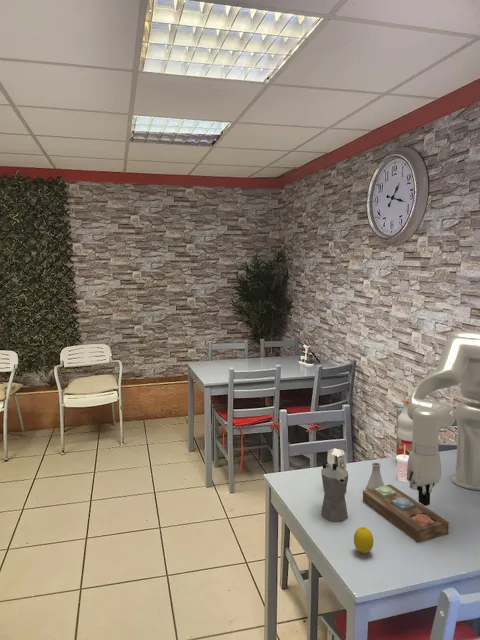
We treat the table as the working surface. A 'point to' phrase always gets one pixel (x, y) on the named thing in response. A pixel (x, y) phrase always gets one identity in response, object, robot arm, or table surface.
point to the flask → (375, 477)
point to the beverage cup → (402, 466)
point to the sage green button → (385, 491)
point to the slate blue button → (402, 504)
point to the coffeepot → (334, 493)
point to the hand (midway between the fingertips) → (424, 503)
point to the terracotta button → (422, 519)
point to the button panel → (407, 516)
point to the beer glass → (337, 458)
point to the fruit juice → (404, 431)
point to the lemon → (363, 540)
